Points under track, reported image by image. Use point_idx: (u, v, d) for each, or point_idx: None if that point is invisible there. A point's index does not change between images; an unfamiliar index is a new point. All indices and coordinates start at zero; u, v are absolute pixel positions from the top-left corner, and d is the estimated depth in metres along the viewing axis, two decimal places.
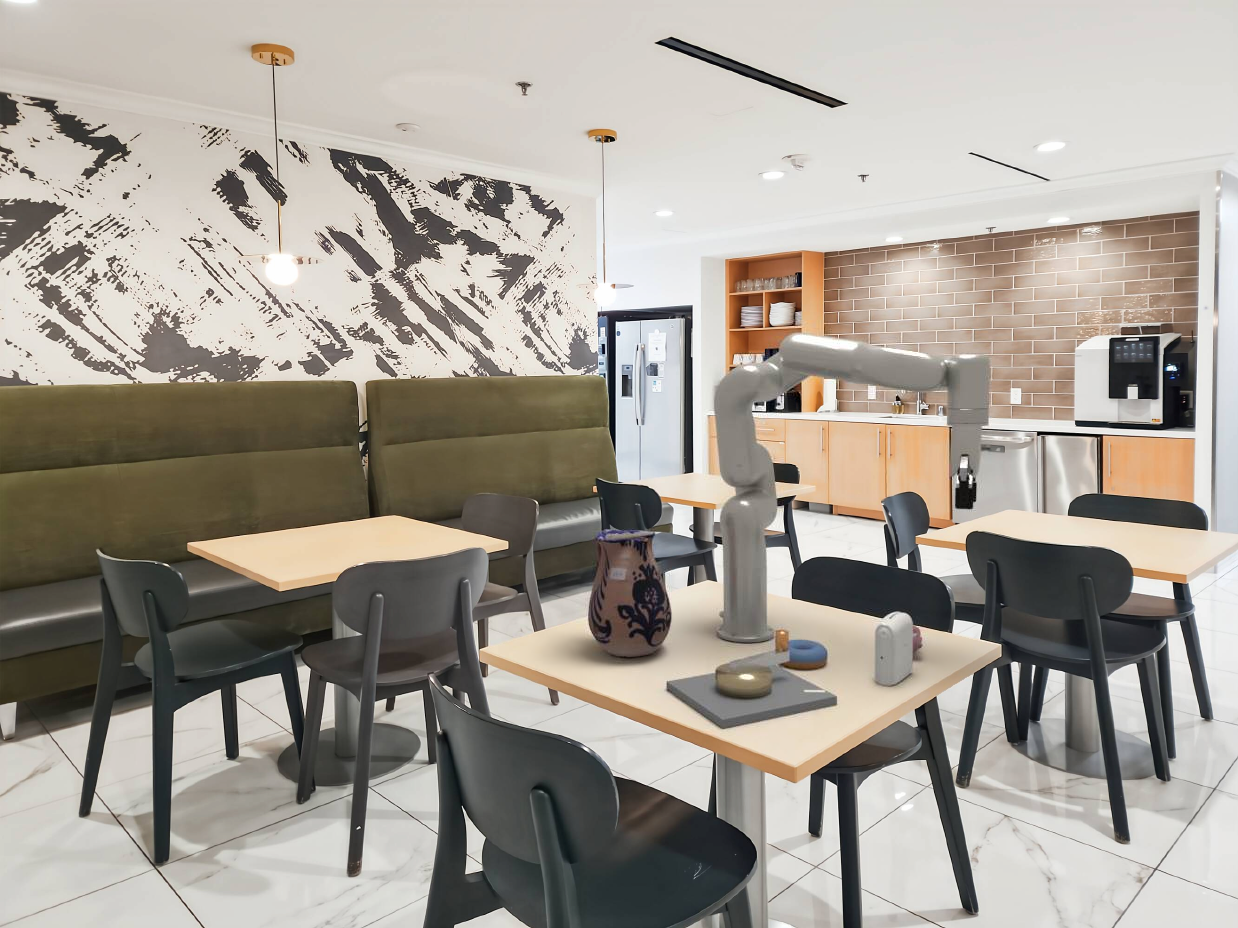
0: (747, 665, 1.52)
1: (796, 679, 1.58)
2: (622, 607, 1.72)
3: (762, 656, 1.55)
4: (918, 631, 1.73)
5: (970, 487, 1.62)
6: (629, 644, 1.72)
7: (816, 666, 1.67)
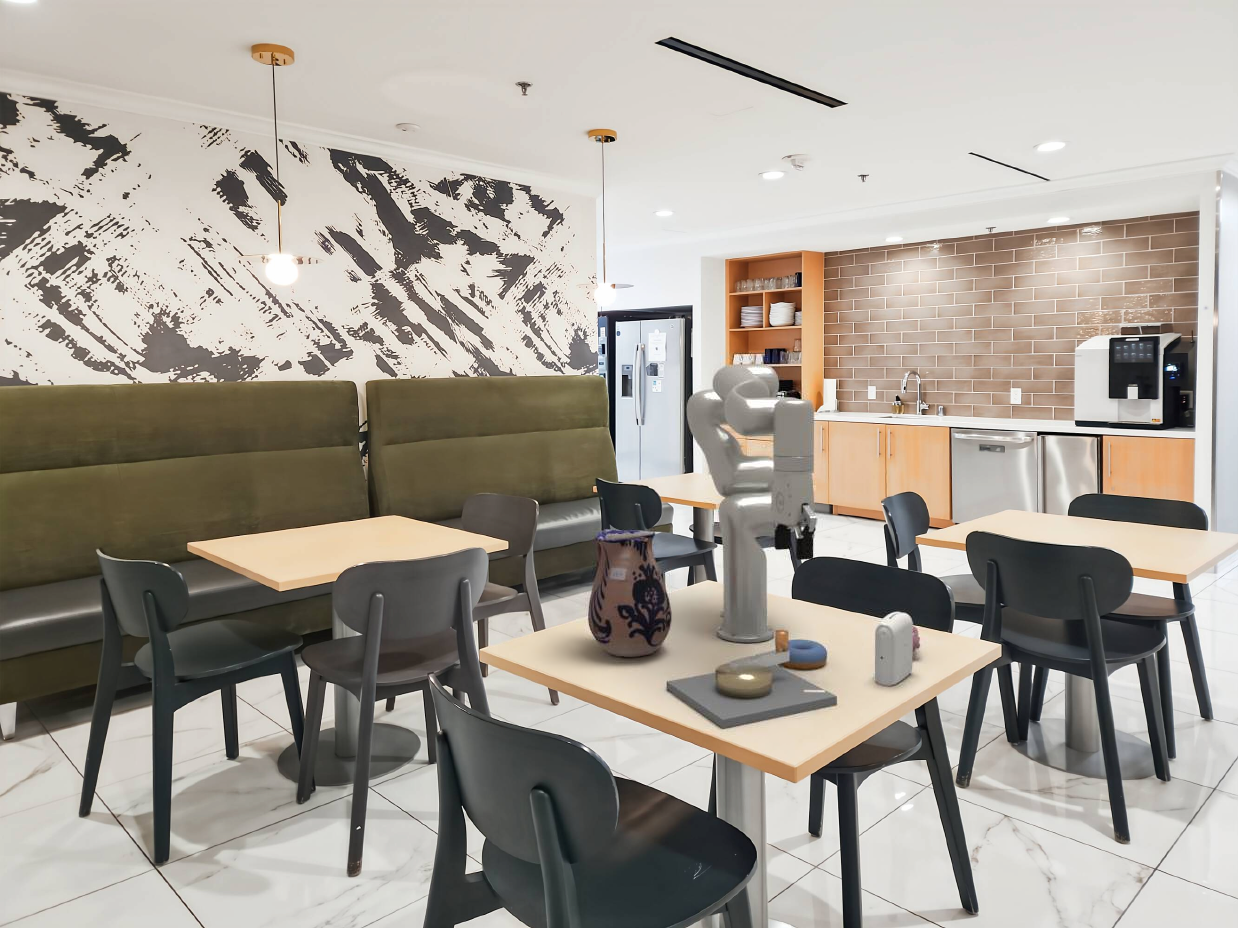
0: (747, 665, 1.52)
1: (796, 679, 1.58)
2: (622, 607, 1.72)
3: (762, 656, 1.55)
4: (916, 631, 1.73)
5: (813, 536, 1.58)
6: (629, 643, 1.72)
7: (816, 666, 1.67)
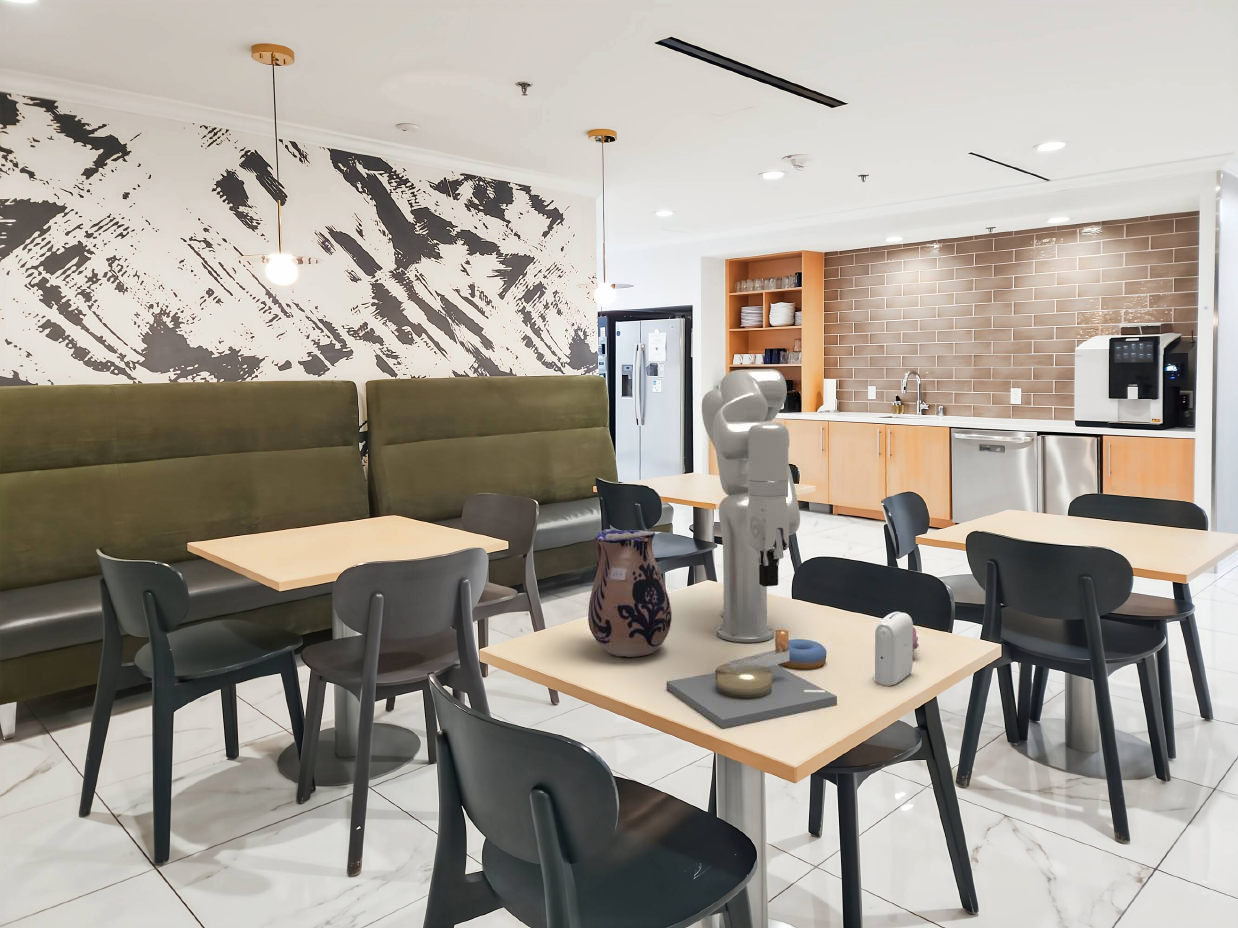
0: (747, 665, 1.52)
1: (796, 679, 1.58)
2: (622, 607, 1.72)
3: (762, 656, 1.55)
4: (914, 631, 1.73)
5: (777, 564, 1.61)
6: (629, 643, 1.72)
7: (815, 666, 1.68)
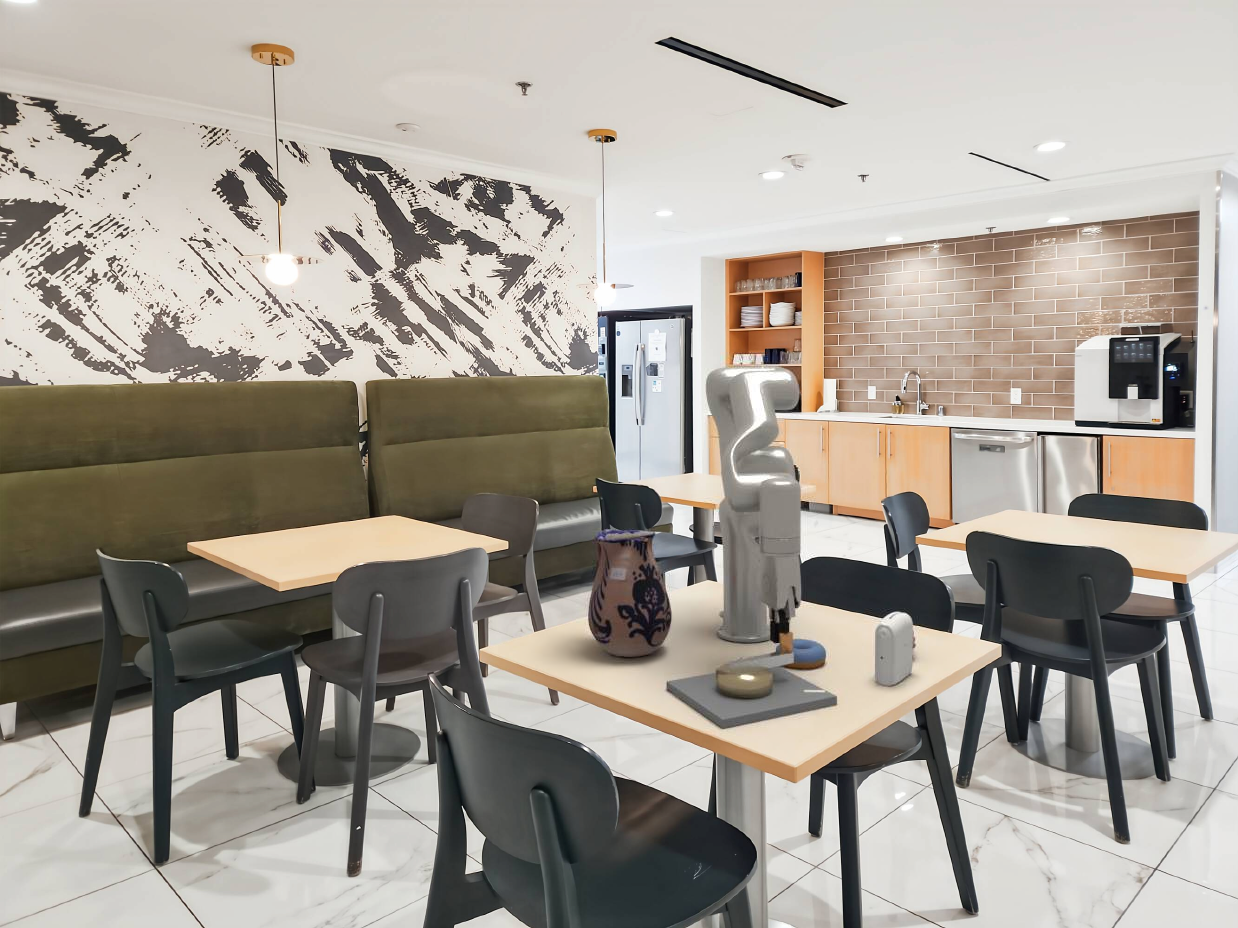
0: (747, 665, 1.52)
1: (796, 679, 1.58)
2: (622, 607, 1.71)
3: (764, 657, 1.54)
4: None
5: (789, 621, 1.59)
6: (629, 644, 1.72)
7: (814, 665, 1.68)
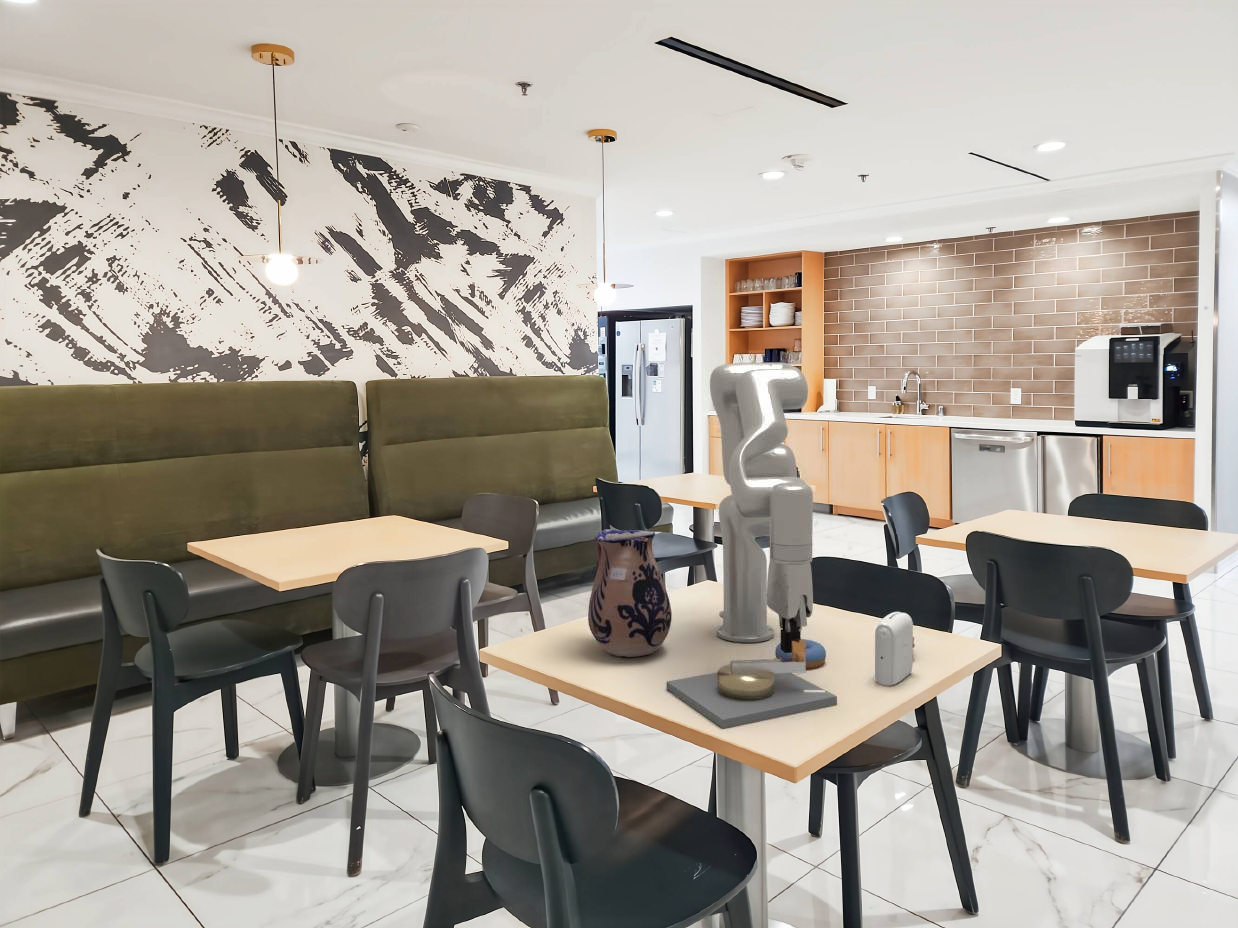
0: (746, 667, 1.51)
1: (796, 679, 1.58)
2: (622, 607, 1.71)
3: (768, 662, 1.52)
4: None
5: (800, 630, 1.54)
6: (629, 644, 1.72)
7: (814, 665, 1.68)
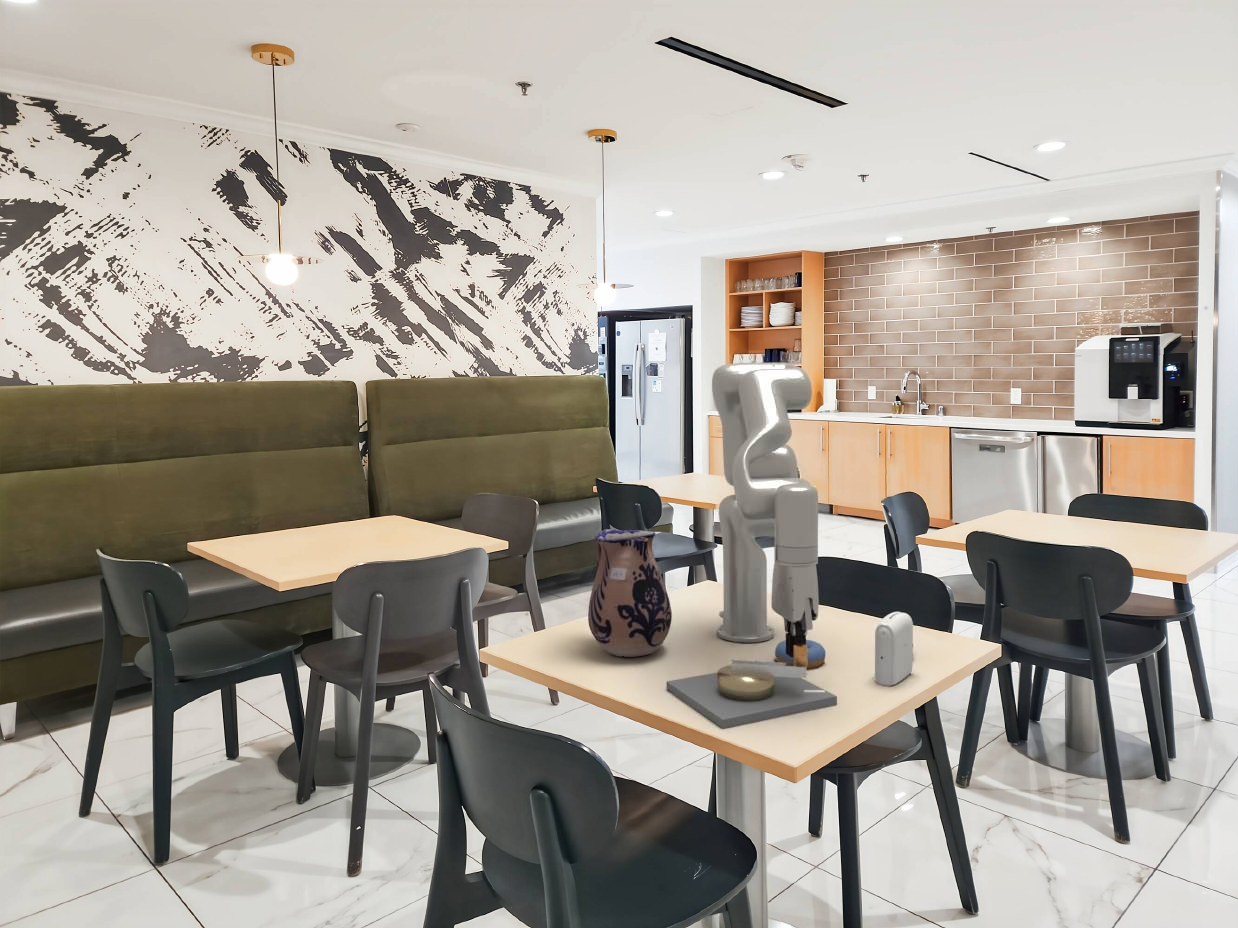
0: (745, 667, 1.51)
1: (796, 679, 1.58)
2: (622, 607, 1.72)
3: (768, 664, 1.50)
4: None
5: (805, 633, 1.51)
6: (629, 643, 1.72)
7: (814, 665, 1.68)
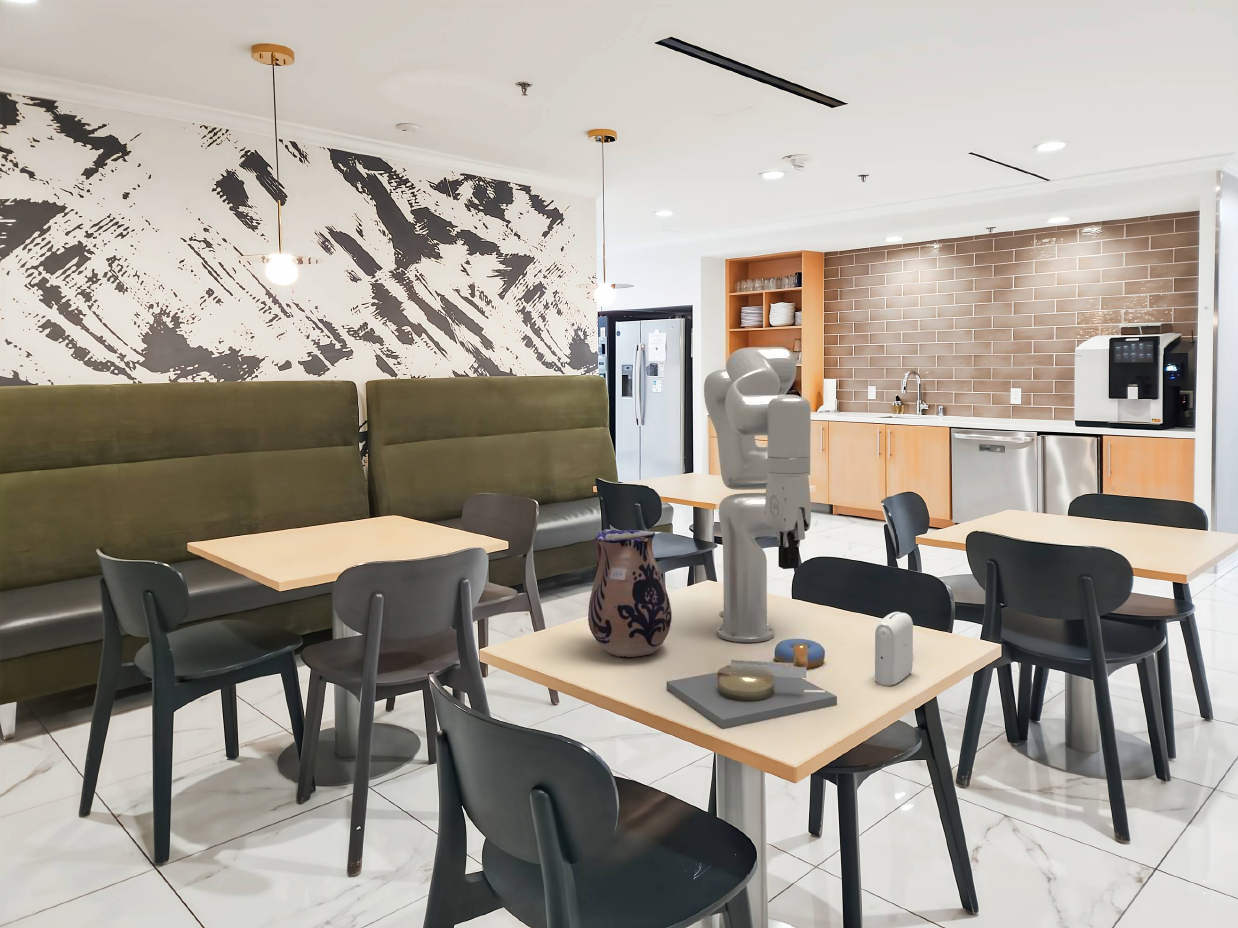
0: (745, 667, 1.51)
1: (796, 679, 1.58)
2: (622, 607, 1.71)
3: (768, 664, 1.50)
4: None
5: (798, 545, 1.53)
6: (629, 644, 1.72)
7: (813, 665, 1.68)
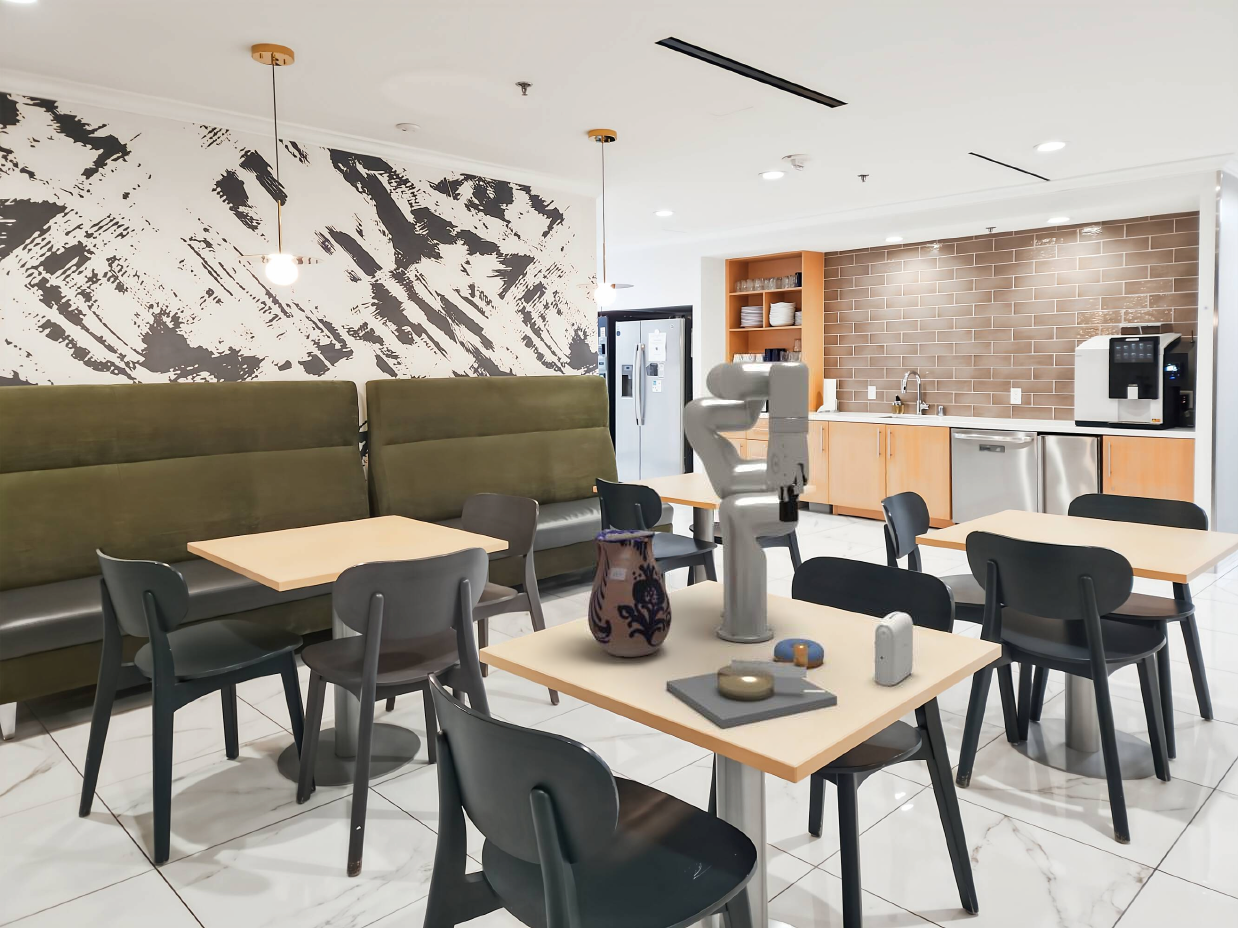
0: (745, 667, 1.51)
1: (796, 679, 1.58)
2: (622, 607, 1.71)
3: (768, 664, 1.50)
4: None
5: (797, 500, 1.64)
6: (629, 643, 1.72)
7: (813, 665, 1.68)
